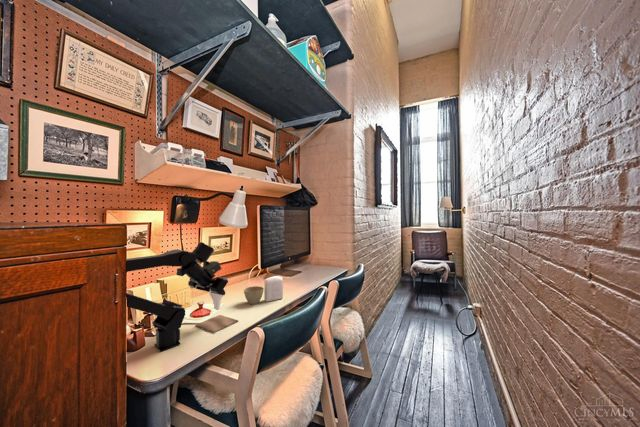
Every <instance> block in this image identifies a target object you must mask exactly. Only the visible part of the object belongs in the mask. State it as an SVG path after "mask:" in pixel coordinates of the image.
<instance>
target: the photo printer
mask: <svg viewBox="0 0 640 427" xmlns="http://www.w3.org/2000/svg"><path fill="white" fill-rule="evenodd" d="M263 294H264V296H263V297H264V298H263V299H264V302H271V301H276V300H281V299H283V298H284V278H283V277H282V276H278V275H277V276H276V275H274V276H269V277H267V278H265V280H264V291H263Z"/></svg>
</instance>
